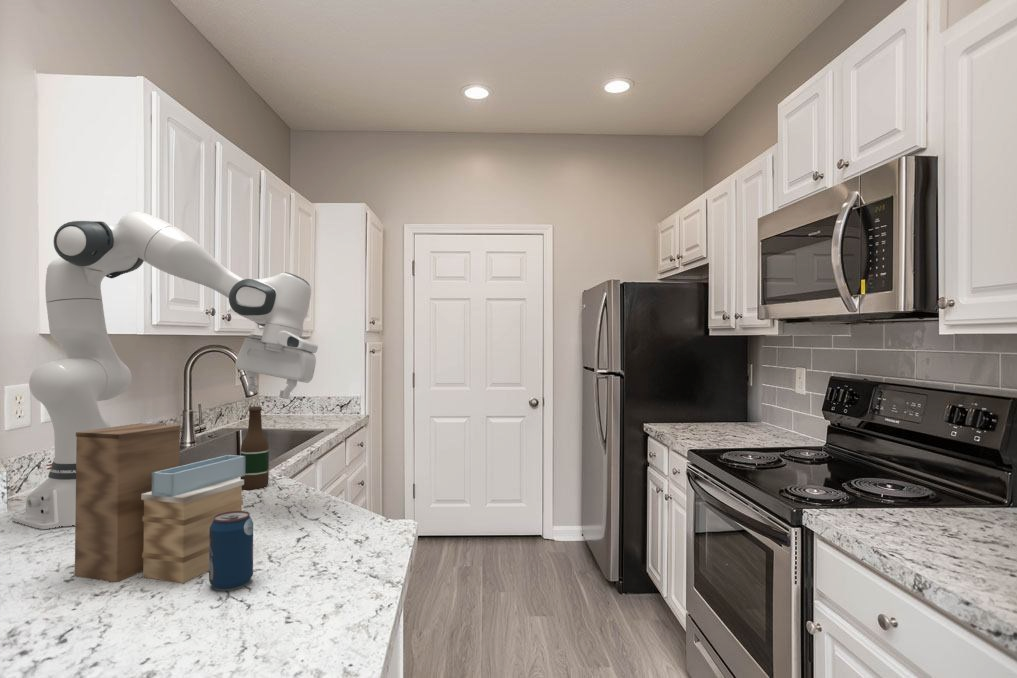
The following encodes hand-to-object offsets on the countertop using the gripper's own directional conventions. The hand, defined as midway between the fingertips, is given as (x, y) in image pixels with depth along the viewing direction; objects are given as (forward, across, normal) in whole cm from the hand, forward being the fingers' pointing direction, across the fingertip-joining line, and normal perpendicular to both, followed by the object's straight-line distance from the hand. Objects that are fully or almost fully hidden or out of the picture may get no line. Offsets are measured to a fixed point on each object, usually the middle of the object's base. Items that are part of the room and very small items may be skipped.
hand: (267, 395), depth 138 cm
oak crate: (+33, +11, -22) cm, 42 cm away
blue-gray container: (+18, +9, -24) cm, 31 cm away
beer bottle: (+29, -22, +32) cm, 49 cm away
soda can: (+32, +24, -28) cm, 49 cm away
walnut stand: (+35, -1, -26) cm, 44 cm away
